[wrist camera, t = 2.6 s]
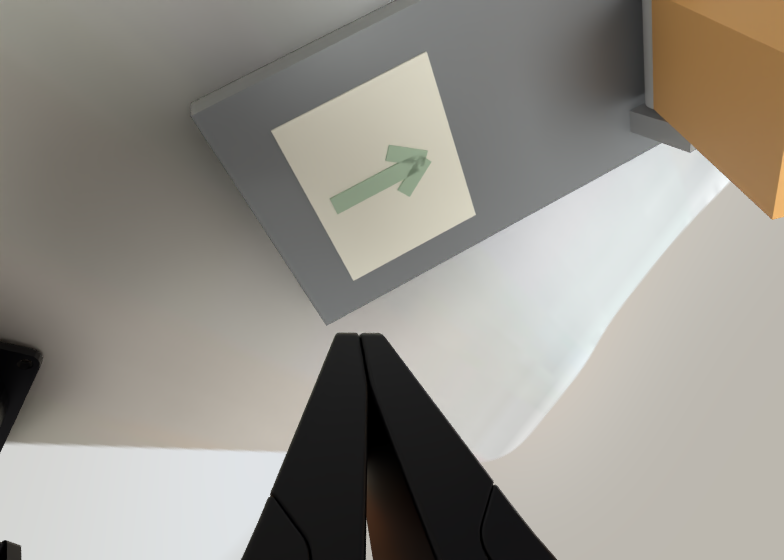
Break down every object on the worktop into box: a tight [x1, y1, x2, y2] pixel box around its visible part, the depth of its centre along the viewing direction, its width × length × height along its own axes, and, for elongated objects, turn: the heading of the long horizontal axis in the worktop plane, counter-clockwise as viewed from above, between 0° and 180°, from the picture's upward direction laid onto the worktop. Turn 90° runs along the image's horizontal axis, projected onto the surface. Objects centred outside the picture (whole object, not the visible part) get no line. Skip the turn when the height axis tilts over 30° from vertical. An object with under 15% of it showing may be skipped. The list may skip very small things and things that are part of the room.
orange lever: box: [642, 0, 784, 220], centre depth 15 cm, size 2×4×10 cm, turn 21°
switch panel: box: [190, 0, 696, 326], centre depth 18 cm, size 20×10×5 cm, turn 111°
